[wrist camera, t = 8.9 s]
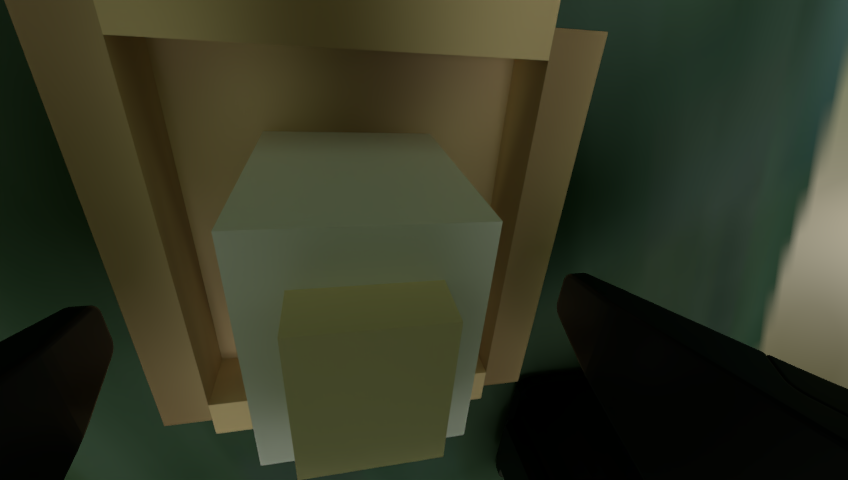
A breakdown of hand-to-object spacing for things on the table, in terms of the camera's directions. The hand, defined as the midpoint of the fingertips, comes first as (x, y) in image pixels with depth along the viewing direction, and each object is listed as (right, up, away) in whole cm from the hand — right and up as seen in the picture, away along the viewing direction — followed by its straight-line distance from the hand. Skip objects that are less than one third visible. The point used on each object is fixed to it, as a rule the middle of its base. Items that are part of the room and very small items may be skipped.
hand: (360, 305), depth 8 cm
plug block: (-1, +2, +3) cm, 4 cm away
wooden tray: (-1, +2, +4) cm, 4 cm away
